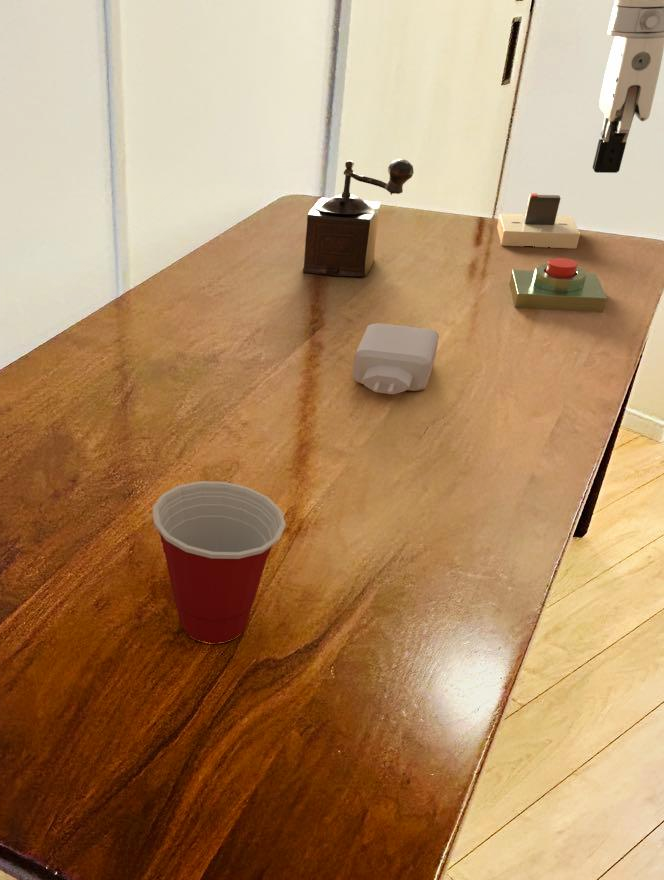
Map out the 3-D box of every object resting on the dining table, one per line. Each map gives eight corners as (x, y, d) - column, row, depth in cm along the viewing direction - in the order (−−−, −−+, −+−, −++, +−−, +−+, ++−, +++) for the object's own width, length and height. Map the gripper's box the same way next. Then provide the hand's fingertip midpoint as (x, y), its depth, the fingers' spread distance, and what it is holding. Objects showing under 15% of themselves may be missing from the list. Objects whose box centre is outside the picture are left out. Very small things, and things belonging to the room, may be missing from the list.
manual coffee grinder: (299, 274, 148) (308, 158, 137) (314, 252, 156) (323, 141, 145) (396, 283, 143) (413, 163, 132) (406, 260, 151) (422, 146, 141)
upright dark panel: (553, 222, 156) (559, 193, 153) (554, 224, 155) (561, 196, 152) (523, 221, 157) (529, 193, 154) (524, 223, 156) (530, 195, 153)
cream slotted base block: (568, 230, 160) (572, 214, 158) (576, 248, 152) (580, 232, 151) (497, 227, 163) (500, 212, 161) (501, 245, 155) (504, 230, 153)
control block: (592, 287, 138) (599, 261, 136) (602, 312, 131) (610, 286, 128) (509, 283, 141) (514, 258, 139) (514, 307, 133) (520, 281, 131)
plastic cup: (295, 653, 76) (307, 539, 69) (172, 676, 75) (170, 562, 68) (254, 576, 85) (260, 467, 78) (142, 595, 83) (138, 486, 76)
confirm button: (572, 270, 135) (575, 258, 134) (576, 279, 132) (579, 268, 131) (544, 268, 136) (546, 257, 135) (547, 278, 133) (549, 266, 132)
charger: (341, 404, 112) (363, 354, 123) (418, 415, 109) (434, 363, 120) (345, 369, 109) (367, 321, 120) (424, 379, 106) (440, 329, 117)
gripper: (688, 28, 109) (645, 186, 119) (662, 12, 120) (624, 157, 131) (620, 30, 110) (583, 185, 121) (600, 14, 122) (568, 157, 133)
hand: (605, 170), depth 126 cm, fingers closed
